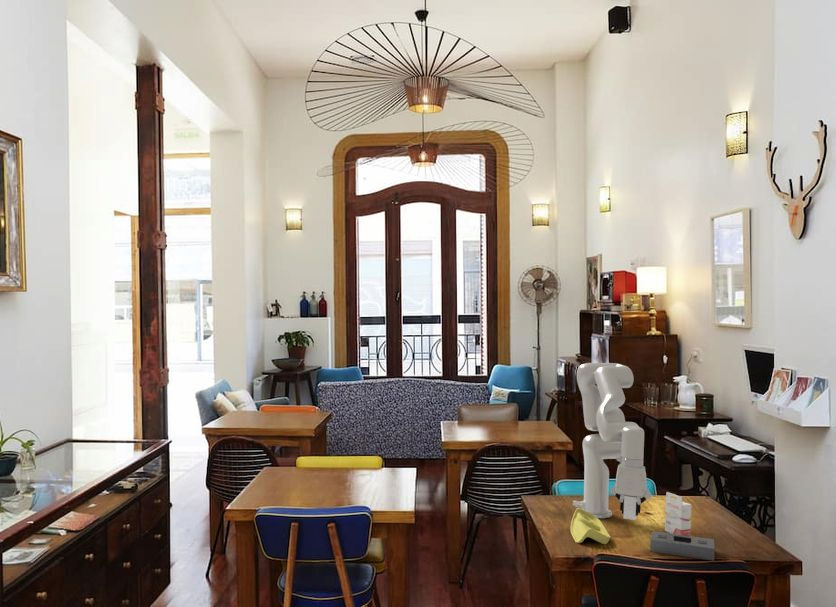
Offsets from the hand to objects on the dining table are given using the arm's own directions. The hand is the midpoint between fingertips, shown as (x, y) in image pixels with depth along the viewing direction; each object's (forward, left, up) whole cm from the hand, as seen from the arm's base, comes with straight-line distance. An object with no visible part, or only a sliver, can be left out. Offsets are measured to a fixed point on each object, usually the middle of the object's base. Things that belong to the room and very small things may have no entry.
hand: (630, 513), depth 247 cm
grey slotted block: (+17, -1, -10) cm, 20 cm away
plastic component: (-14, +2, -11) cm, 18 cm away
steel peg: (0, 0, -1) cm, 2 cm away
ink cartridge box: (+15, +18, -11) cm, 26 cm away
